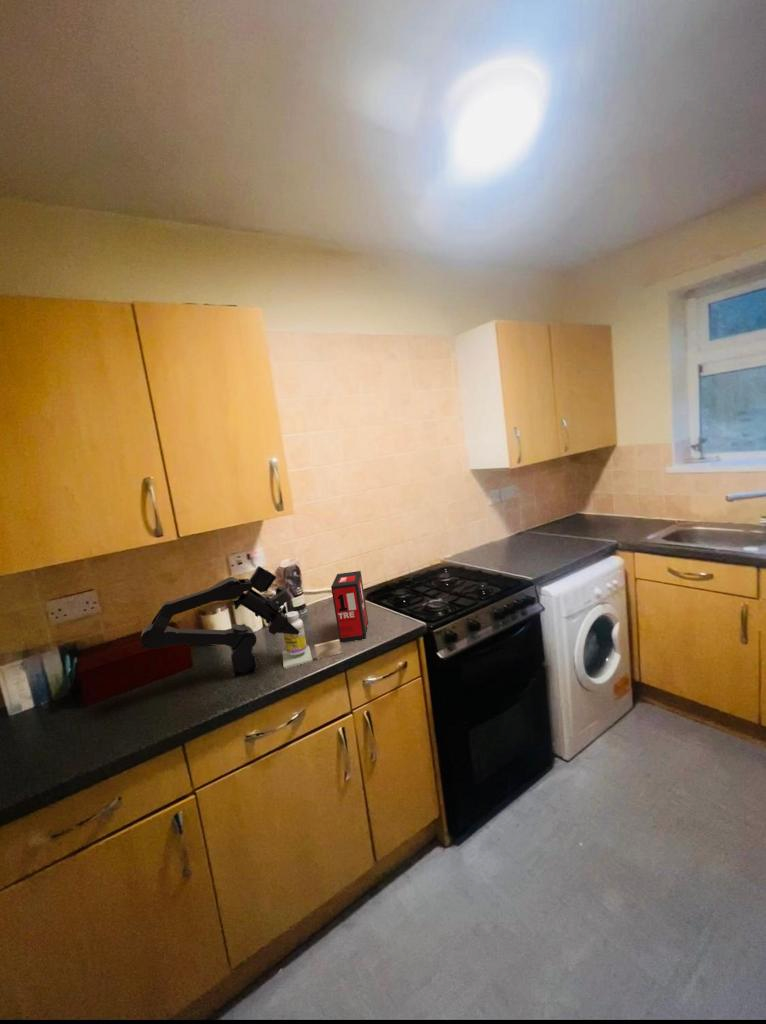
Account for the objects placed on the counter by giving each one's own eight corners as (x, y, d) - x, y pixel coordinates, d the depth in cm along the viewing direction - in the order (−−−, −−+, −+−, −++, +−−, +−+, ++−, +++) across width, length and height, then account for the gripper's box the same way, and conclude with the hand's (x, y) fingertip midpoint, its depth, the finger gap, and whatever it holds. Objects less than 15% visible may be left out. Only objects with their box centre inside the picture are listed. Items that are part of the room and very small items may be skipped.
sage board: (284, 669, 137) (283, 666, 137) (282, 653, 149) (282, 651, 149) (312, 661, 139) (312, 659, 139) (309, 647, 151) (308, 645, 151)
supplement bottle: (282, 654, 143) (276, 617, 142) (295, 645, 149) (289, 609, 147) (298, 657, 140) (292, 618, 138) (311, 647, 146) (305, 610, 144)
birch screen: (317, 659, 140) (315, 646, 140) (316, 658, 142) (314, 645, 141) (341, 653, 142) (339, 640, 142) (341, 652, 144) (339, 639, 143)
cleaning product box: (345, 624, 168) (337, 573, 165) (368, 621, 167) (360, 570, 165) (340, 642, 151) (331, 586, 149) (365, 639, 151) (357, 583, 149)
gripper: (273, 590, 132) (315, 618, 136) (272, 576, 150) (310, 601, 154) (250, 621, 131) (294, 648, 135) (252, 603, 149) (290, 627, 153)
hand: (297, 629), depth 144 cm, fingers closed on supplement bottle, 6 cm apart
